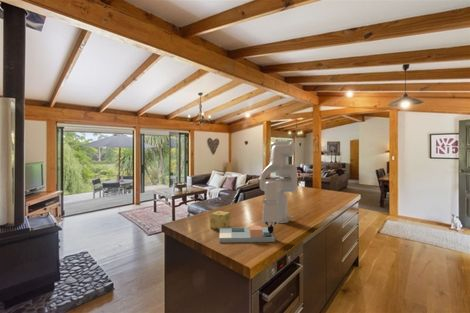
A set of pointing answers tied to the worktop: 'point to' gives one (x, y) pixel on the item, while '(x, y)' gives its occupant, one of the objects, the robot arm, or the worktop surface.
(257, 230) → the block
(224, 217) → the cheese
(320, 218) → the worktop surface
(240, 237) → the trap deck
